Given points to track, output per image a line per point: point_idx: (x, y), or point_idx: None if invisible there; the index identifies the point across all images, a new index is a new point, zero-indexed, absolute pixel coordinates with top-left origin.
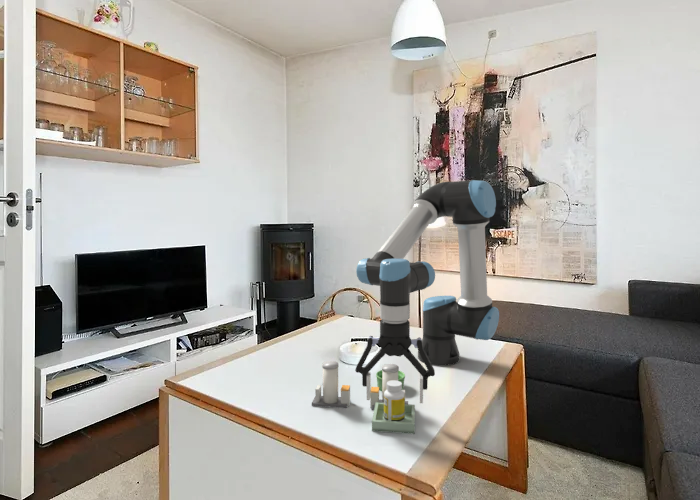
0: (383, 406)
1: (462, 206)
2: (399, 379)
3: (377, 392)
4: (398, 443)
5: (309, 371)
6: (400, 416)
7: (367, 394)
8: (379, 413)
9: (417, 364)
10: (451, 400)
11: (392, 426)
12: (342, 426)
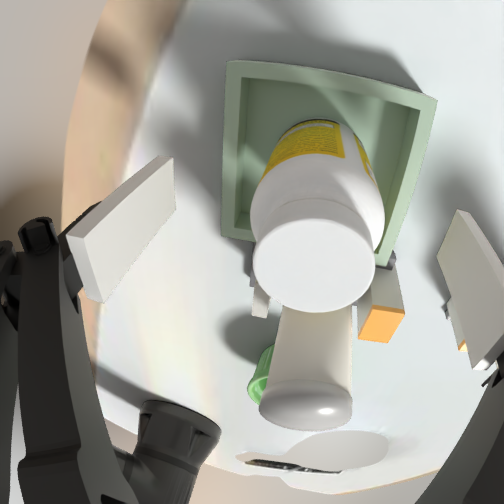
0: None
1: None
2: (267, 375)
3: (376, 306)
4: None
5: (466, 412)
6: (292, 130)
7: (478, 229)
8: None
9: (22, 342)
10: (126, 283)
11: (337, 72)
12: None
